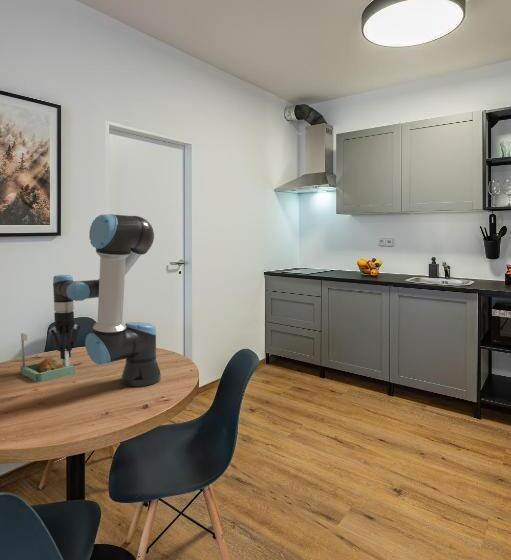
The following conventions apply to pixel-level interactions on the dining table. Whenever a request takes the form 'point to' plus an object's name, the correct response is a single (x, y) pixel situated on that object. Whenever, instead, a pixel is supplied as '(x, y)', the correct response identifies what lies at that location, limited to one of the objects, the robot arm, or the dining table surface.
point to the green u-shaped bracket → (38, 377)
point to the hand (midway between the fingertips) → (65, 365)
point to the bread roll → (49, 365)
